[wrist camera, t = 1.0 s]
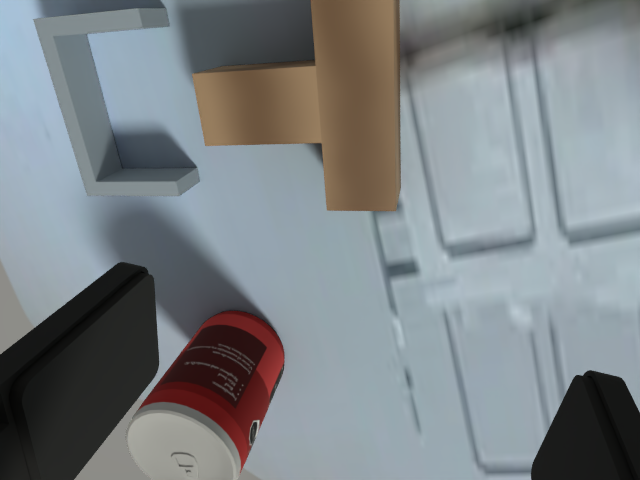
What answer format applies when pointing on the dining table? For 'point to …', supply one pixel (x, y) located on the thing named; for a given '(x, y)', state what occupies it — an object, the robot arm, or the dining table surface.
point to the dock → (101, 104)
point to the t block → (323, 102)
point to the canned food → (209, 402)
